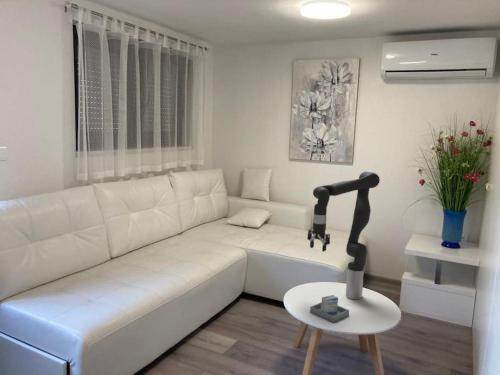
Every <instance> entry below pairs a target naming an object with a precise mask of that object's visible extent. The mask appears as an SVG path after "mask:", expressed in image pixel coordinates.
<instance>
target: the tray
mask: <svg viewBox="0 0 500 375" xmlns="http://www.w3.org/2000/svg"><path fill="white" fill-rule="evenodd" d="M321 303H322V301H321V302H319V303H316V304H314V305H312V306H310V308H309V313H311V314H313V315H316V316H317V317H319V318H322V319H324V320H327V321H329V322H331V323H333V324H334V323H336V322H339V321H340V320H342V319H345V318H346V317H348V316H349V315H350V309H347V308H345V307H342V306H340V305H338V308H337V313H333V314H330V315H329V314H327V313H325V312H323V311H321Z"/></svg>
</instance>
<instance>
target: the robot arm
mask: <svg viewBox="0 0 500 375" xmlns="http://www.w3.org/2000/svg"><path fill="white" fill-rule="evenodd" d="M380 179H381V178H380V176H379V175H378V174H377V173H375V172H373V171H363V172H361V173H360V174H359V176H358V178H357V179H350V180H349V179H348V180H343V181H339V182H333V183H331V184H325V185H324V184H323V185H320V186H317V187H314V188H313V190H312V195H313V196H314V198H315V199H317V202H316V203H315V204H314V207H313V216H312V229H308V231H307V240H308V241H309V247H310V248H311V249H313V248H314V247H315V240H319V241H320V242H321V244H322V248H321V251H322V252H326V251H327V246H328V245H330V243H331V234H330V233H326V230H327V211H328V210H327V207H328V204H329V201H330V197H336V196H340V195H344V194H347V193H350V192H355V191H357V194H356V200H355V207H354V209H353V210H354V211H353V215H352V224H351V227H350V233H349V236H348V239H347V242H346V243H347V244H346V248H345V253H346V254H347V255H348V256H349V257H352V258H353V259H354V260H353V261H351V262H349V263H348V262H347V263H348V264H347V272H346V273H347V274H346V283H345V284H346V287H345V296H346V297H347V298H348V299H350V300H360V299H361V298H362V296H363V288H364V272H365V271H364V269H365V268H364V267H365V266H366V262H367V254H368V247H367V246H366V245H365V244H364V243H360V242H359V239H360V235H361V233H362V231H363V230H364V229H365V228H366V227H367V225H368V224H369V222H370V218H371V217H370V216H371V211H372V210H371V205H370V199H369V193H370V189H374V188H377V187H378V186H379V184H380V181H381V180H380Z"/></svg>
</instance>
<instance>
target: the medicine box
mask: <svg viewBox="0 0 500 375" xmlns="http://www.w3.org/2000/svg"><path fill="white" fill-rule="evenodd" d="M321 302H322V303H321ZM321 302H320V303H321V311H323V312H325V313H327V314H329V315H330V314H333V313H337V308H338V306H339V304H338V303H339V298H338V296H336V295H334V294H333V295H332V294H331V295H327V296H322V297H321Z"/></svg>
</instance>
